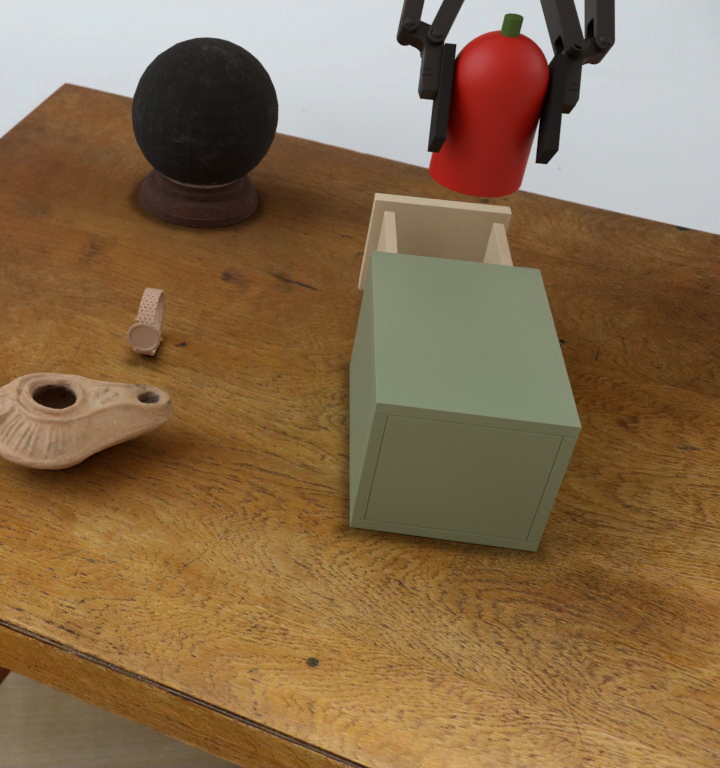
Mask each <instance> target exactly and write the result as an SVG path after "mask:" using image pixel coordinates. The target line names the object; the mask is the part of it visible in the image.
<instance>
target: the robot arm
mask: <svg viewBox="0 0 720 768" xmlns="http://www.w3.org/2000/svg"><path fill="white" fill-rule="evenodd" d="M465 1H466V0H442V2H441V4H440V6H439V9H438V10H437V12H436V14H435V17H434V18H433V21H432V22H431V24H430V23H428V22H426V21H423V20H421V19H422V14H423V10H424V5H425V0H403V4H402V7H401V12H400V17H399V21H398V26H397V30H396V31H397V32H396V42H397V43H398V44H399V46H402V47H408V46H410V47H412V48H415V49H417V51H418V52H419V57H420V68H419V78H418V87H417V93H418V97H419V99H420V100H428V101H432V106H431V115H430V125H429V133H428V142H427V150H426V152H427V153H432V152H435V153H439V151H440V149H441V148H442V146H443V144H444V142H445V140H446V137H447V128H448V119H449V109H450V100H451V91H452V82H453V73H454V64H455V58H456V56H457V55H456V54H457V47H458V46H457V43H450V42H445V41H446V39H447V38H448V35H449V33H450V31H451V30H452V27H453V25H454V23H455V21H456V19H457V18H458V15H459V13H460V11H461V9H462V7H463V5H464V4H465ZM539 2H540V6H541V11H542V14H543V17H544V18H543V19H544V21H545V25H546V30H547V33H548V36H549V40H550V44H551V48H552V51H553V55H554V56H553V57H552V59H550V62H548V67H549V75H550V77H549V85H548V90H547V94H546V97H545V101H544V105H543V108H542V112H541V115H540V119H539V123H538V131H537V132H538V133H537V142H536V143H537V144H536V152H535V160H534V161H535V164H538V165H548V164H549V163H550V162H551V160H552V159H553V158H554V157H555V156H556V154H557V153H558V152H559V151H560V141H561V140H560V139H561V130H562V129H561V128H562V120H563V115H570V114H571V112H572V111H573V109H575V107H576V106H577V104H578V102H579V100H580V95H581V94H580V93H581V84H582V73H583V66H584V65H587V64H589V65H593V66H594V65H599V64H600V63H601V62H602V61H603V59H604V58H605V57H606V56H607V54H608V53H609V52H610V51H611V49H612V48H613V47H614V45H615V43H616V0H584V1H583V2H584V4H583V5H584V6H583V7H584V11H583V12H584V14H583V15H584V18H583V19H584V20H583V21H584V29H582V26H581V21H580V18H579V14H578V10H577V7H576V3H575V0H539ZM583 30H584V32H583Z"/></svg>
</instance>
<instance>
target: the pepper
mask: <svg viewBox="0 0 720 768" xmlns="http://www.w3.org/2000/svg"><path fill="white" fill-rule="evenodd" d="M523 23H524V16H523V15H522V14H518V13H512V12H511V13H510V12H509V13H506V14H504V16H503V21H502V25H501V29H498V30H493V31H488V32H485V33H483V34H480V35H478V36H476V37H474V38H472V39H471V40H470V41H469V42H467V43H466V44H465V46H463V47H462V48H461V50H460V51H459V52H458V53H457V55H456V56H455V64H454V73H453V82H452V91H451V100H450V109H449V119H448V128H447V137H446V140H445V142H444V144H443V146H442V148H441V149H440V151H439V153H435V152H431V156H430V161H429V165H428V172H429V175H430V177H431V178H432V179H433V180H434V181H435V182H436V183H437V184H438V185H440V186H442V187H444V188H445V189H448V190H450V191H453V192H455V193H458V194H462V195H465V196H469V197H477V198H500V197H501V198H502V197H506V196H509V195H512V194H514V193H516V192H517V191H519V190H520V188H521V187H522V184H523V181H524V180H523V179H524V177H525V173H526V169H527V165H528V162H529V159H530V154H531V150H532V147H533V144H534V140H535V138H536V137H535V136H536V134H537V129H538V127H539V120H540V115H541V112H542V108H543V105H544V101H545V97H546V94H547V90H548V85H549V77H550V75H549V67H548V65H549V62H548V59H547V57H546V55H545V53H544V51H543V50H542V48H541V47H540V46H539V45H538V44H537V43H536V41H534V40H533V39H532V38H530V37H528V36H527V35H525V34H523V33H521V30H522V26H523Z"/></svg>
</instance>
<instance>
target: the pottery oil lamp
mask: <svg viewBox="0 0 720 768" xmlns="http://www.w3.org/2000/svg"><path fill="white" fill-rule="evenodd" d="M174 410H175V409H174V405H173V400H172V398H171V395H170V394H169V393H168V392H167V391H165V390H164V389H162V388H159V387H158V386H155V385H151V384H150V385H149V384H140V383H129V382H128V383H127V382H117V381H116V382H114V381H105V380H98V379H94V378H93V379H92V378H88V377H85V376H82V375H78V374H67V373H59V372H34V373H33V372H32V373H28V374H25V375H22V376H19V377H16V378H14V379H12V380H11V381H10V382H9V383H7V384H4V385H3V386H1V387H0V457H2V459H4V460H5V461H8V462H9V463H12V464H15V465H19V466H22V467H25V468H31V469H38V470H51V471H56V470H57V471H58V470H63V469H64V470H65V469H69V468H72V467H75V466H78V464H80V463H82V462H83V461H85V460H86V459H88V458H89V457H90V456H93V455H95V454H96V453H99V452H101V451H104V450H106V449H108V448H111V447H114V446H116V445H119V444H122V443H125V442H128V441H131V440H134V439H138V438H140V437H142V436H145V435H149V434H151V433H153V432H155V431H157V430H159V429H160V428H162V427H163V426H164V425H165V424H166V423H167V422H169V421H170V420H171V418H172V417H173V415H174Z"/></svg>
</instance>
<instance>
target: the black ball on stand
mask: <svg viewBox="0 0 720 768" xmlns="http://www.w3.org/2000/svg"><path fill="white" fill-rule="evenodd" d="M131 123H132V130H133V135H134V137H135V141H136V144H137V146H138V148H139V149H140V151H141V154H143V156H144V158H145V160H146V161H147V162H148V163H149V165H151V167H152V169H150V171H149V172H148V173H147V175H145V176H144V178H143V179H142V180H141V181H140V183H139V186H138V199H139V202H140V204H141V206H142V207H143V208H144V209H145V210H146V212H148V213H150V214H151V215H153V216H154V217H155V218H157V219H159V220H162V221H164V222H168V223H170V224H174V225H178V226H183V227H189V228H190V227H191V228H203V229H204V228H207V229H208V228H220V227H226V226H230V225H231V226H232V225H234V224H237V223H240V222H242V221H244V220H246V219H248V218H249V217H250V216H252V215H253V214H254V213H255V211H256V209H257V207H258V201H259V192H258V189H257V187H256V186H255V184H254V183H253V180H252V179H251V178H250V176H249V175H248V174H250V173H251V172H252V171H253V170H254V169H255V168H257V167H258V166H259V164H260V163H261V162H262V161H263V159H264V158H265V157H266V156H267V154H268V152H269V150H270V149H271V147H272V143H273V142H274V140H275V137H276V134H277V129H278V124H279V100H278V95H277V91H276V88H275V85H274V83H273V81H272V79H271V76H270V74H269V72H268V71H267V69H266V68H265V66H264V65H263V64H262V62H261V61H260V60H259V59H258V58H257V57H256V56H254V54H252V53H251V52H250V51H249V50H247V49H246V48H244V47H243V46H242V45H239V44H236V43H234V42H232V41H230V40H227V39H223V38H218V37H209V36H207V37H194V38H189V39H186V40H182V41H179V42H176V43H175V44H173V45H171V46H170V47H168V48H167V49H165V50H164V51H163V52H160V53H159V54H158V55H157V56H156V57H155V58H154V59H153V60H152V61H151V62H150V63H149V64H148V66H146V68H145V70H144V71H143V73H142V74H141V76H140V78H139V80H138V83H137V85H136V88H135V91H134V94H133V97H132V104H131Z"/></svg>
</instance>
